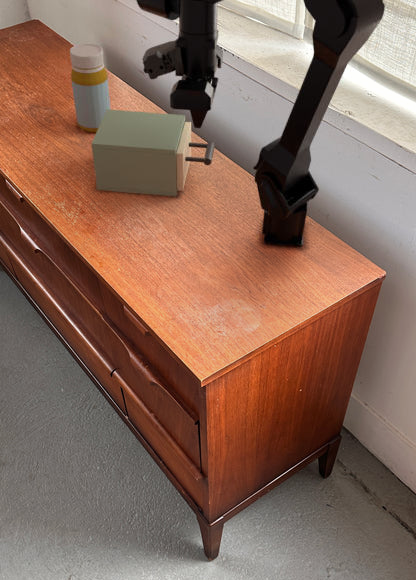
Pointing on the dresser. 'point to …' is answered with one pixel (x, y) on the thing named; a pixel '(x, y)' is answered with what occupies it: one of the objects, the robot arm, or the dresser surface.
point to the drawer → (189, 155)
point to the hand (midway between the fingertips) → (197, 127)
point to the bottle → (89, 86)
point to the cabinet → (137, 152)
